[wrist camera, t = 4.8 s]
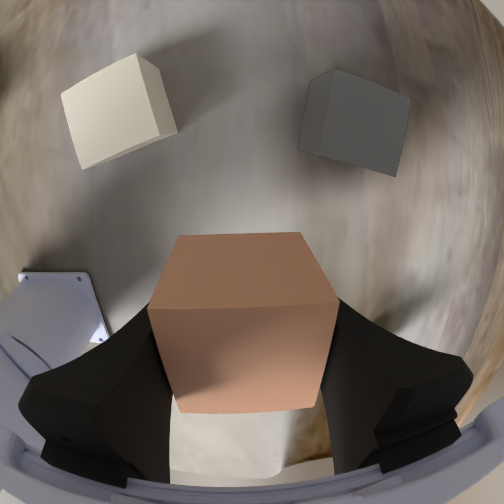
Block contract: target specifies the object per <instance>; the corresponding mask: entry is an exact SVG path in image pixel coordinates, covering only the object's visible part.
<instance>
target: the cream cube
mask: <svg viewBox="0 0 504 504" xmlns="http://www.w3.org/2000/svg"><path fill="white" fill-rule="evenodd" d="M61 98H62V102H63V106H64V110H65V114H66V118H67V122H68V126H69V129H70V133H71V136H72V140H73V143H74V146H75V150H76V153H77V156H78V159H79V162H80V165H81V168H82V170H85V169H87V168H90V167H93V166H96V165H99V164H102V163H104V162H107V161H110V160H113V159H116V158H118V157H121V156H123V155H125V154H127V153H130V152H132V151H134V150H137V149H139V148H141V147H144V146H146V145H149V144H151V143H154V142H156V141H159V140H161V139H164V138H167V137H169V136H172V135H175V134H178V130H177V127H176V124H175V121H174V118H173V114H172V111H171V108H170V104H169V101H168V98H167V94H166V91H165V88H164V84H163V81H162V78H161V74H160V71H159V69H158V68H157V67H155V66H154V65H152V64H151V63H150V62H148V61H147V60H145V59H144V58H143V57H141V56H140V55H138V54H137V53H134V54H132V55H130V56H128V57H125V58H123V59H121V60H119V61H117V62H115V63H113V64H111V65H109V66H107V67H105V68H104V69H102V70H100V71H98V72H96V73H94V74H93V75H91V76H89V77H87V78H86V79H84V80H82V81H81V82H79V83H77V84H76V85H74V86H73V87H71V88H69V89H68V90H66V91H65V92H63V93H62V94H61Z"/></svg>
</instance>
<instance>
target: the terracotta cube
mask: <svg viewBox="0 0 504 504" xmlns="http://www.w3.org/2000/svg"><path fill="white" fill-rule="evenodd" d="M339 303H340V301H339V299H338V297H337V296H336V294H335V292H334V290H333V288H332V287H331V285H330V283H329V281H328V279H327V278H326V276H325V274H324V272H323V271H322V269H321V267H320V265H319V264H318V262H317V260H316V258H315V257H314V255H313V253H312V252H311V250H310V248H309V246H308V245H307V243H306V241H305V240H304V238H303V236H302V235H301V233H300V232H284V233H247V234H216V235H190V236H179V237H178V239H177V242H176V244H175V246H174V248H173V250H172V252H171V254H170V257H169V259H168V261H167V263H166V265H165V268H164V270H163V272H162V274H161V277H160V279H159V281H158V284H157V286H156V288H155V291H154V293H153V295H152V298H151V300H150V302H149V305H148V307H147V311H148V315H149V319H150V322H151V326H152V329H153V333H154V336H155V340H156V343H157V346H158V350H159V353H160V356H161V359H162V362H163V365H164V368H165V371H166V374H167V377H168V380H169V383H170V386H171V389H172V391H173V394H174V397H175V399H176V402H177V405H178V407H179V410H180V412H181V413H205V414H230V413H256V412H271V411H283V410H292V409H301V408H309V407H314V405H315V402H316V398H317V395H318V391H319V388H320V384H321V381H322V377H323V373H324V369H325V365H326V361H327V357H328V353H329V349H330V345H331V341H332V336H333V332H334V327H335V323H336V318H337V313H338V308H339Z"/></svg>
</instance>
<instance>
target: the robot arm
mask: <svg viewBox="0 0 504 504" xmlns="http://www.w3.org/2000/svg"><path fill="white" fill-rule="evenodd" d="M79 277H80V278H81V279H80V278H79ZM18 278H19V281H20V284H19V285H18V286H17V287H16V288H15V289H14V290H13V291H12V292H11V293H10V294H9V295H8V296H7V297H6V298H5V299H4V300H3V301H2V303H1V304H0V491H1V489H4V490H5V491H7V492H8V493H10V494H11V495H13V496H14V497H16V498H17V499H19V500H20V501H22V502H24V503H26V504H445V503H446V502H448V501H450V500H451V499H453V498H455V497H456V496H458V495H459V494H461V493H462V492H464V491H465V490H467V489H468V488H470V487H471V486H473V485H474V484H475V483H477V482H478V481H479V480H481V479H482V478H484V477H485V476H486V475H487V474H489V473H490V472H491V471H492V470H494V469H495V468H496V467H497V466H499V465H500V464H501V463H502V462H503V461H504V398H503V397H501V398H500V399H498V400H497V401H495V402H494V403H492V404H490V405H489V406H488V407H486V408H485V409H484V410H483V411H481V412H480V414H479V415H478V416H477V417H476V418H475V419H474V421H473V422H471V423H470V424H468V425H466V426H464V427H463V428H461V429H459V428H458V426H457V424H456V422H455V420H454V419H456V417H457V413H456V411H455V409H454V408H455V406H456V405H457V404H458V403H459V401H460V400H461V399H462V398H463V396H464V395H465V394H466V392H467V391H468V389H469V388H470V386H471V383H472V381H473V373H472V372H471V370H470V369H469V367H468V366H467V365H466V363H465V362H464V360H463V359H462V358H461V357H459V356H455V355H451V354H446V353H442V352H438V351H435V350H432V349H429V348H426V347H422V346H420V345H417V344H414V343H412V342H410V341H407V340H405V339H403V338H401V337H398V336H396V335H394V334H392V333H390V332H388V331H387V330H385V329H383V328H381V327H379V326H378V325H376V324H374V323H373V322H371V321H370V320H368V319H367V318H365V317H364V316H362V315H361V314H359V313H358V312H357V311H355V310H354V309H352V308H351V307H350V306H349V305H347V304H346V303H345V302H343V301H342V300H341V299H340V298H338V299H339V301H340V303H339V308H338V313H337V318H336V323H335V327H334V332H333V336H332V341H331V345H330V349H329V353H328V357H327V361H326V365H325V369H324V373H323V377H322V381H321V384H320V389H321V392H322V396H323V401H324V405H325V410H326V415H327V421H328V426H329V432H330V439H331V446H332V453H333V462H334V471H335V472H334V473H335V475H334V476H329V477H324V478H319V479H314V480H308V481H302V482H294V483H287V484H278V485H267V486H252V487H200V486H185V485H175V484H170V467H169V437H170V417H171V404H172V396H173V391H172V389H171V386H170V383H169V380H168V377H167V374H166V371H165V368H164V365H163V362H162V359H161V356H160V353H159V350H158V346H157V343H156V340H155V336H154V333H153V329H152V326H151V322H150V319H149V315H148V311H147V307H148V305H149V303H148V304H147V305H146V306H145V307H144V308H143V309H142V310H141V311H140V312H139V313H138V314H137V315H136V316H134V317H133V318H132V319H131V320H130V321H129V322H128V323H127V324H125V325H124V326H123V327H122V328H121V329H120V330H118V331H117V332H116V333H115V334H113V335H112V336H111V337H110V335H109V333H108V330H107V328H106V325H105V322H104V319H103V317H102V314H101V311H100V308H99V305H98V302H97V299H96V296H95V293H94V290H93V287H92V283H91V280H90V277H89V275H88V274H87V273H86V272H20V273H19V274H18ZM101 338H102V339H101ZM89 342H95V343H101V344H100V345H98V346H96V347H95V348H93V349H91V350H90V351H88V352H86V353H85V354H83V353H84V351H85V350H86V348H87V346H88V344H89ZM351 493H352V494H351Z"/></svg>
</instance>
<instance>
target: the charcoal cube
mask: <svg viewBox="0 0 504 504" xmlns="http://www.w3.org/2000/svg"><path fill="white" fill-rule="evenodd" d="M410 105H411V98H409V97H406V96H404V95H402V94H400V93H398V92H396V91H393V90H391V89H389V88H386V87H384V86H382V85H379V84H377V83H374V82H372V81H369V80H367V79H364V78H361V77H359V76H356V75H353V74H350V73H347V72H345V71H341V70H338V69H335V68H334V69H332V70H330V71H329V72H327V73H325V74H323V75H321V76H319V77H318V78H316V79H314V80H312V81H310V86H309V91H308V97H307V102H306V107H305V113H304V118H303V123H302V128H301V133H300V138H299V143H298V148H297V149H300V150H303V151H306V152H309V153H311V154H314V155H317V156H321V157H325V158H329V159H333V160H337V161H341V162H345V163H349V164H352V165H356V166H360V167H363V168H367V169H370V170H373V171H377V172H380V173H383V174H387V175H390V176H393V177H396V174H397V170H398V166H399V161H400V157H401V153H402V148H403V143H404V138H405V133H406V128H407V123H408V117H409V111H410Z"/></svg>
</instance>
